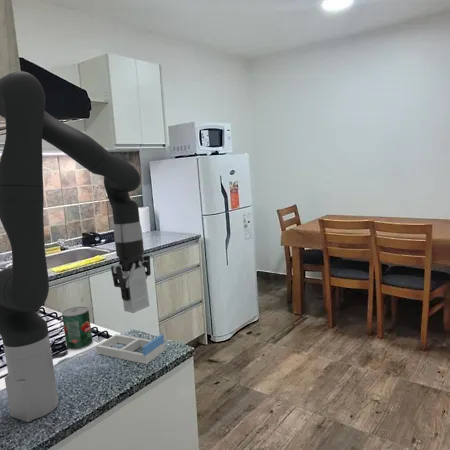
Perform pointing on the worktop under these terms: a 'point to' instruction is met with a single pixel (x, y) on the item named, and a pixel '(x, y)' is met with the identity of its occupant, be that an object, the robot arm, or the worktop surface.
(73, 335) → the canned tomato
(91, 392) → the worktop surface
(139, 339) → the two-compartment tray
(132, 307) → the skincare box
